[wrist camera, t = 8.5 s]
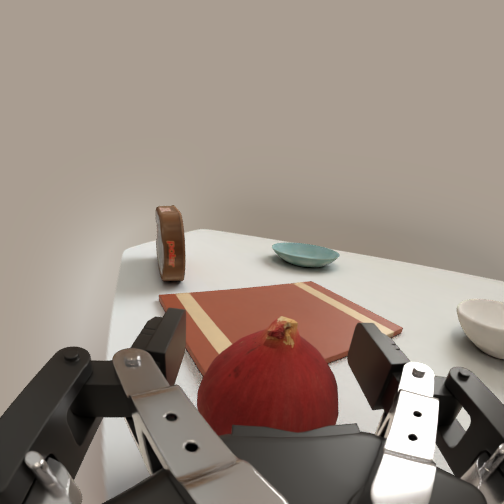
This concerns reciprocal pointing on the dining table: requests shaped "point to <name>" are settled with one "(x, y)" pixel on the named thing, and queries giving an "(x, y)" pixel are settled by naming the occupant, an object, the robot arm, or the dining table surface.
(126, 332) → the dining table surface
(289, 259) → the saucer
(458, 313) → the spoon rest
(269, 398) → the red pomegranate
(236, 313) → the towel
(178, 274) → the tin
